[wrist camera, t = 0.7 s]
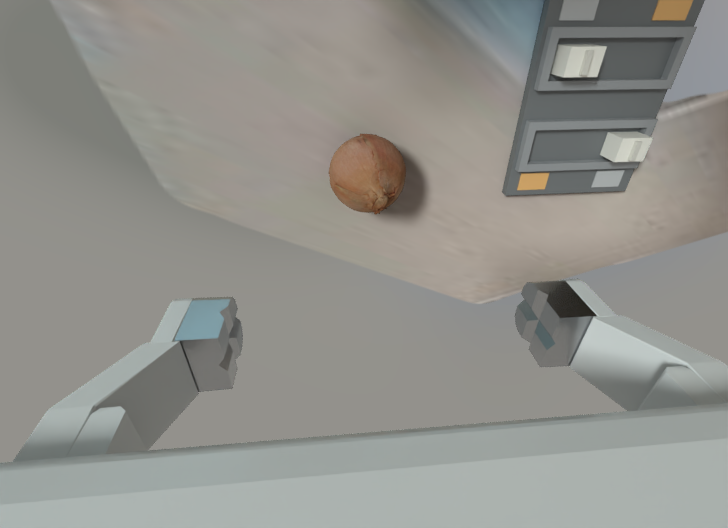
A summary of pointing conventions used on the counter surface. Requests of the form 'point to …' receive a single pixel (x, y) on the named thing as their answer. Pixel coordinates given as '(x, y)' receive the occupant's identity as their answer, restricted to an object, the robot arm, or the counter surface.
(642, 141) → the tab
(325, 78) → the counter surface
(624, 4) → the switch bank
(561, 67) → the tab
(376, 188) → the onion
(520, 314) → the robot arm
